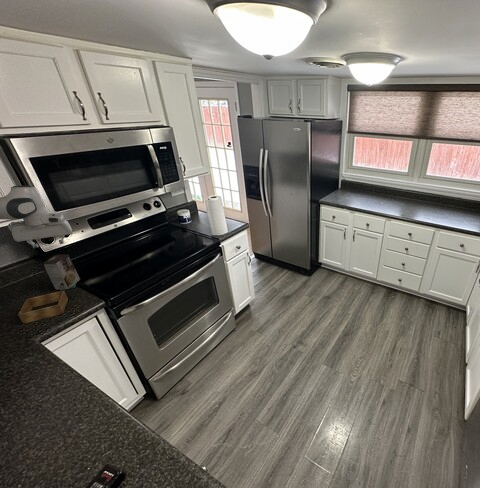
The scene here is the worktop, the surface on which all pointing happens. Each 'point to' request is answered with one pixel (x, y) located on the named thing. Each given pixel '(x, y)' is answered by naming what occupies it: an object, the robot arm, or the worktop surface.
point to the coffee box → (61, 271)
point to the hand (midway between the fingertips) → (49, 245)
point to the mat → (70, 287)
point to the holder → (30, 316)
